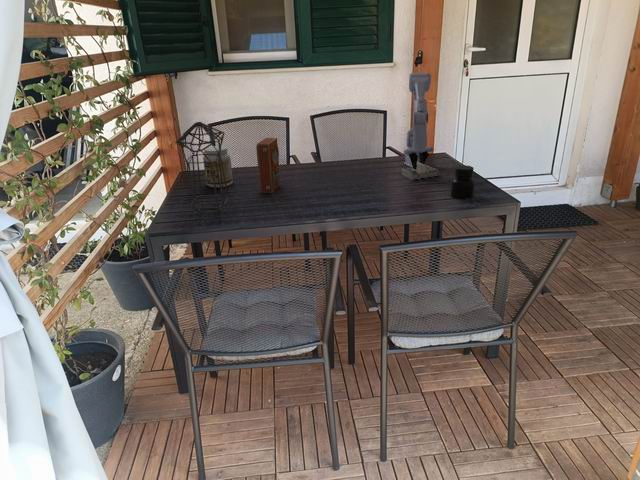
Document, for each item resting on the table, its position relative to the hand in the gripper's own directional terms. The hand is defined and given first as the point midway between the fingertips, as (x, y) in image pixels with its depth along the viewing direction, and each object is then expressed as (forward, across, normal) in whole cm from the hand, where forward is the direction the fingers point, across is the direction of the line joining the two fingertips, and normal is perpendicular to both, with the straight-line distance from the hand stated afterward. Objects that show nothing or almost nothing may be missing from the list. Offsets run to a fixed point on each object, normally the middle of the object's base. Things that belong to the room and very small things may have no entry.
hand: (417, 168), depth 212 cm
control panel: (+4, -68, +11) cm, 69 cm away
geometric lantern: (+4, -97, -10) cm, 98 cm away
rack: (+4, +1, 0) cm, 4 cm away
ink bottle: (+4, +1, -33) cm, 33 cm away
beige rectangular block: (+3, 0, -1) cm, 3 cm away
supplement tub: (+4, -88, +28) cm, 92 cm away
